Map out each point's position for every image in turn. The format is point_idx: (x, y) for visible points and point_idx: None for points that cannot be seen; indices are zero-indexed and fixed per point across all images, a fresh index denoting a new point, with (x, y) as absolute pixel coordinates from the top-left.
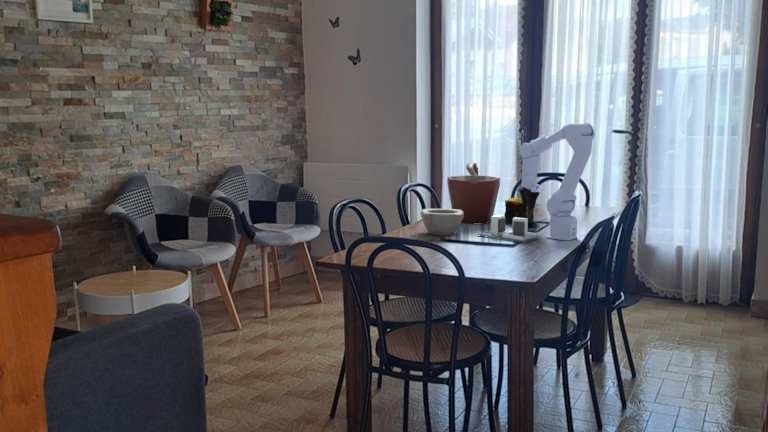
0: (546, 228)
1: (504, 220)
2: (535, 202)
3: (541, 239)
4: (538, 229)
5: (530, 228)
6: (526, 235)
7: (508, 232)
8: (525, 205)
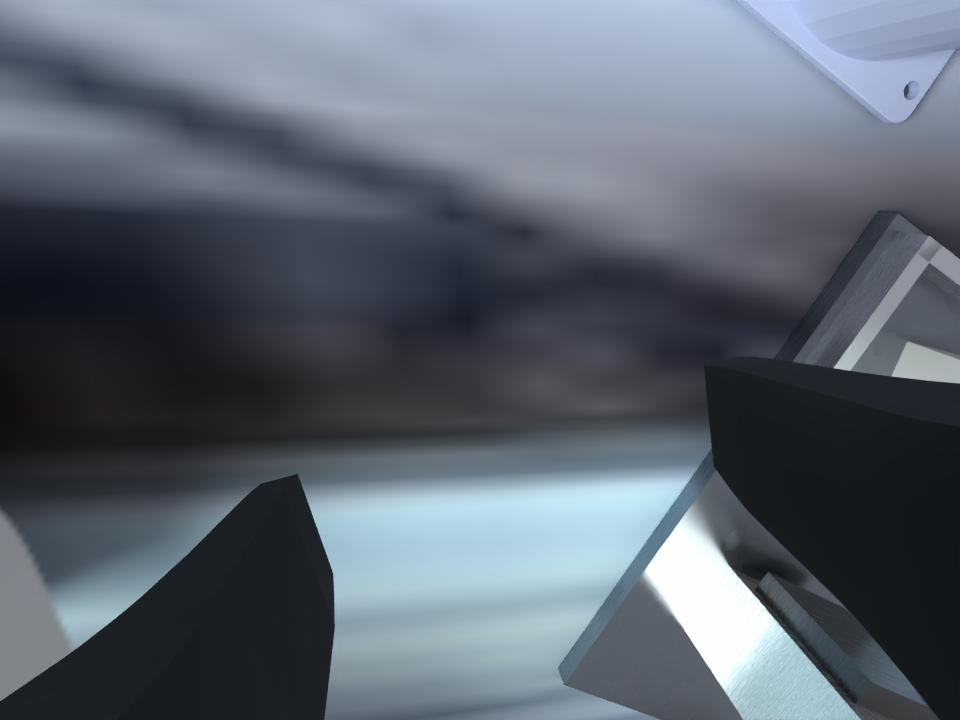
0: (167, 37)
1: (875, 673)
2: (891, 379)
3: (943, 178)
4: (290, 174)
5: (234, 286)
6: (949, 353)
7: None
8: (319, 551)
